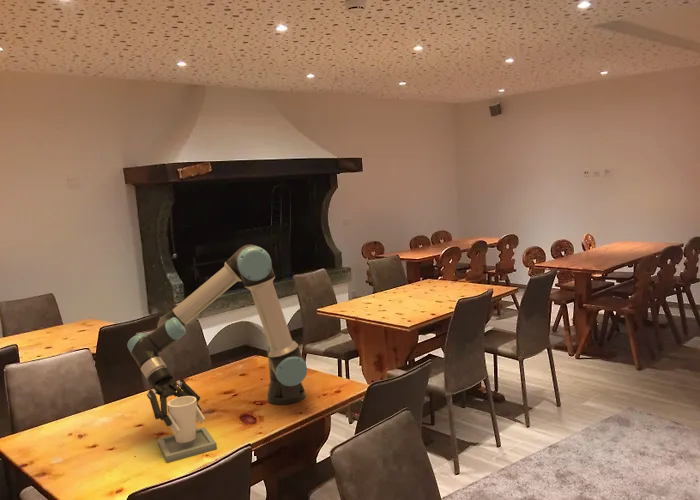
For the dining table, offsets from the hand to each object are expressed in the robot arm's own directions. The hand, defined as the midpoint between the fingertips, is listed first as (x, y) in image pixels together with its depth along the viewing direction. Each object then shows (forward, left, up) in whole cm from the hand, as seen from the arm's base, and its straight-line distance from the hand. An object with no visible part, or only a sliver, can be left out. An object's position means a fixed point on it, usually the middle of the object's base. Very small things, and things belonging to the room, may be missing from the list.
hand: (190, 426), depth 188 cm
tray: (+1, -3, -8) cm, 8 cm away
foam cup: (+1, -3, -5) cm, 6 cm away
